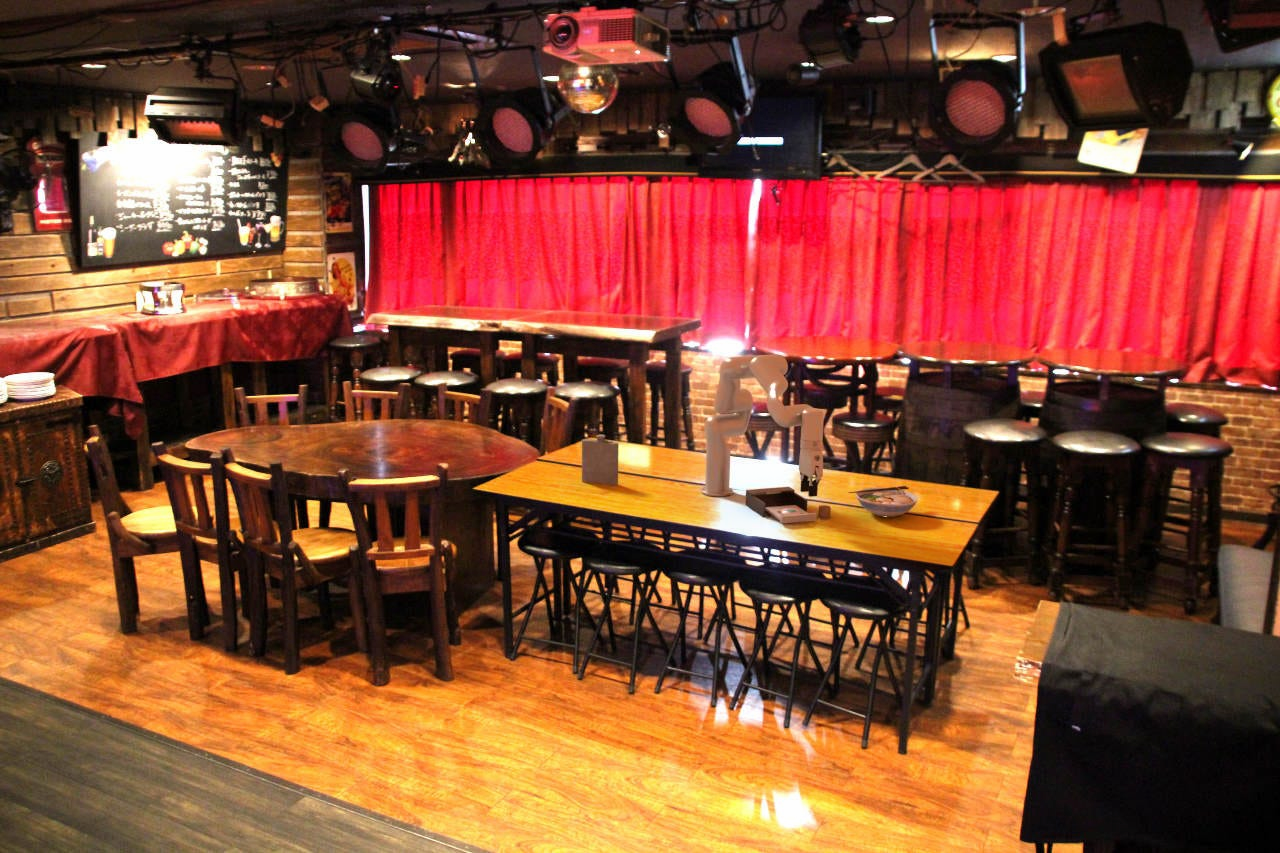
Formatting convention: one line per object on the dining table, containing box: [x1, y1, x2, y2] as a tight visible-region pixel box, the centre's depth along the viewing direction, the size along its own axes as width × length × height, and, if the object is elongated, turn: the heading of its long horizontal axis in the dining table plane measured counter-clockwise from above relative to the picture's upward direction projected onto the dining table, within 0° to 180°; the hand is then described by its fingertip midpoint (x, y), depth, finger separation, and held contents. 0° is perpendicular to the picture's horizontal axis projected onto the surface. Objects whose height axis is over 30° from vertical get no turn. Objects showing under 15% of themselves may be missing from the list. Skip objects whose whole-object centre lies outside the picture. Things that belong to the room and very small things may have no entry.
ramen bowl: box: [848, 485, 919, 518], centre depth 390 cm, size 25×23×8 cm
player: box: [745, 486, 808, 518], centre depth 395 cm, size 16×18×6 cm
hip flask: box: [581, 434, 619, 487], centre depth 426 cm, size 16×4×20 cm, turn 68°
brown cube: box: [817, 504, 832, 520], centre depth 386 cm, size 4×4×4 cm
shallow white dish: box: [781, 508, 801, 516], centre depth 383 cm, size 7×7×2 cm
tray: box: [765, 505, 818, 524], centre depth 384 cm, size 16×14×2 cm
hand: (808, 493), depth 369 cm, fingers open, 5 cm apart
